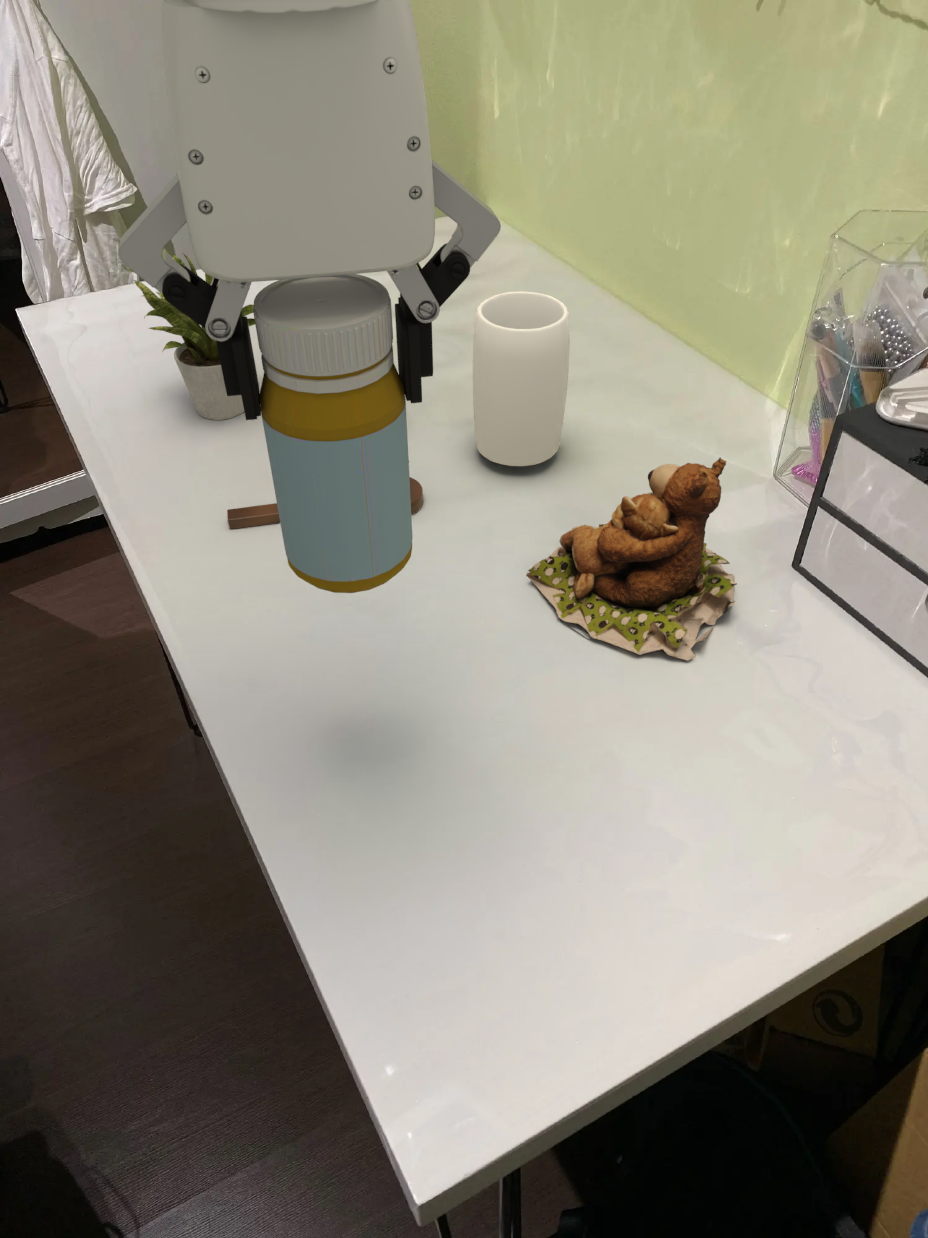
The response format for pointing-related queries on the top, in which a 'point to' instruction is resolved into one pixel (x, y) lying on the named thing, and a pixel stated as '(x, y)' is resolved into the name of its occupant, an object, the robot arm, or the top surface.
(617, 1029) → the top surface
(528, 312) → the cup
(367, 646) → the top surface
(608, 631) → the bear figurine
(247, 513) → the spoon
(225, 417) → the house plant
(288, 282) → the bottle
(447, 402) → the top surface
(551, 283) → the top surface
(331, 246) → the robot arm
